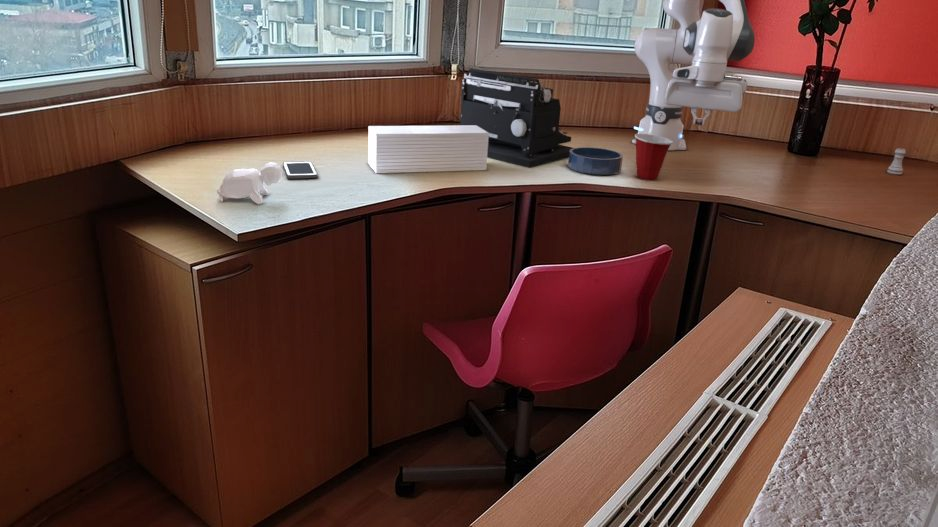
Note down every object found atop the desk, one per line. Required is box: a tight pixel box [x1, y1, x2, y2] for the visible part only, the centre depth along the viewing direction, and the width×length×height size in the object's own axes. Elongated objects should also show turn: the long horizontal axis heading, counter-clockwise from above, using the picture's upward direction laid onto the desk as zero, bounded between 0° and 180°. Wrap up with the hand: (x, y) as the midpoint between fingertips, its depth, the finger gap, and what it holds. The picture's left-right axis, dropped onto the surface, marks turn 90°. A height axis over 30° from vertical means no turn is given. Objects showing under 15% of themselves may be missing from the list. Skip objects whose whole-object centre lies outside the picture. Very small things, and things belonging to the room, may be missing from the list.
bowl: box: [567, 146, 624, 176], centre depth 212 cm, size 16×16×5 cm
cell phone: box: [282, 160, 318, 180], centre depth 191 cm, size 8×15×1 cm, turn 18°
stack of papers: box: [367, 124, 489, 174], centre depth 202 cm, size 32×11×11 cm, turn 109°
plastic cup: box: [634, 133, 673, 181], centre depth 205 cm, size 11×11×12 cm
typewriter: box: [459, 67, 574, 168], centre depth 225 cm, size 31×27×25 cm
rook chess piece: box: [886, 147, 907, 176], centre depth 230 cm, size 4×4×8 cm
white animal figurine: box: [216, 161, 284, 205], centre depth 166 cm, size 8×8×15 cm
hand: (698, 124), depth 197 cm, fingers closed
